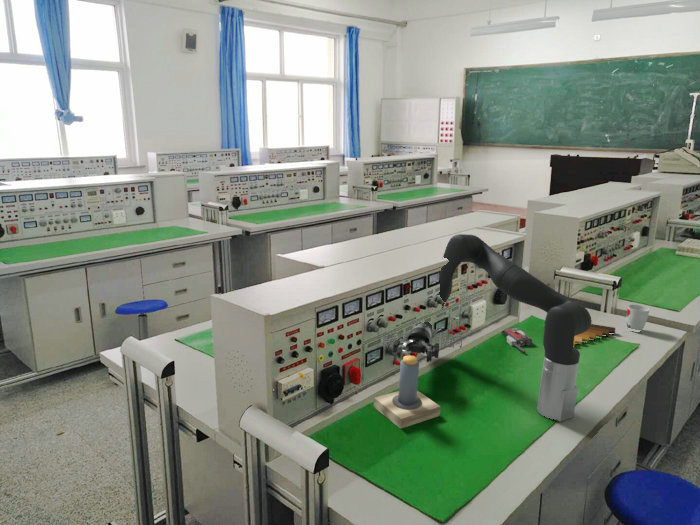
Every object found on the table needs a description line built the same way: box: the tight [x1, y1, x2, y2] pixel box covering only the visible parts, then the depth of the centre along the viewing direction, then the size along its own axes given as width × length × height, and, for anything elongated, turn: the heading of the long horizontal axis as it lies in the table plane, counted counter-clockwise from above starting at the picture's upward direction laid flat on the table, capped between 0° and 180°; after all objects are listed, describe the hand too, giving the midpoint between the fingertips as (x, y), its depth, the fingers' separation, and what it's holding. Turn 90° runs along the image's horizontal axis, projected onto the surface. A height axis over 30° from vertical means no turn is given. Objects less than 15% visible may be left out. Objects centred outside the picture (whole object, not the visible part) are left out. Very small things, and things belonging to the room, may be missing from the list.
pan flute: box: [573, 323, 616, 347], centre depth 216 cm, size 25×3×25 cm
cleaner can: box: [398, 355, 420, 405], centre depth 154 cm, size 5×5×13 cm
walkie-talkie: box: [501, 327, 533, 354], centre depth 208 cm, size 9×4×20 cm
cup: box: [626, 304, 650, 331], centre depth 225 cm, size 8×8×10 cm
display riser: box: [373, 390, 442, 430], centre depth 156 cm, size 13×14×3 cm
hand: (413, 357), depth 164 cm, fingers open, 8 cm apart
